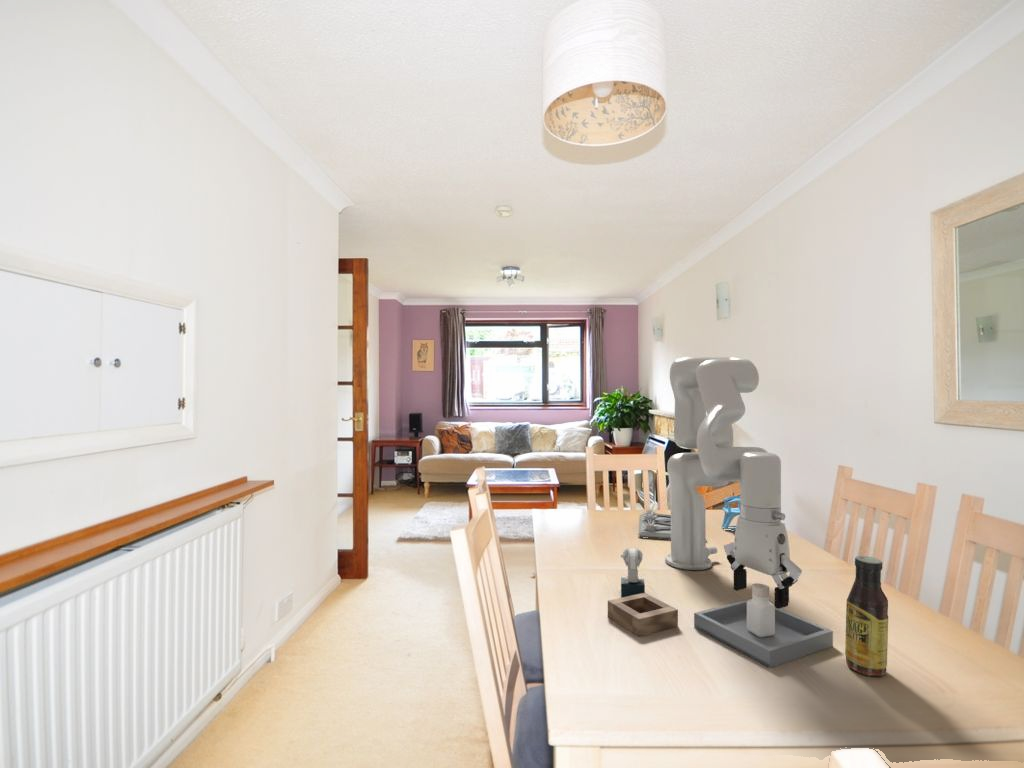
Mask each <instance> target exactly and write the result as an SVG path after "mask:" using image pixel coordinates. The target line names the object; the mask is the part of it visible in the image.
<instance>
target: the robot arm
mask: <svg viewBox="0 0 1024 768" xmlns="http://www.w3.org/2000/svg"><path fill="white" fill-rule="evenodd" d="M669 381H670V385H671V389H672V394H673V397H674V398H673V399H674V416H673V417H674V418H673V419H674V422H673V437H674V443H675V444H676V446H677V447H679V448H680V449H681V448H682V449H687V450H697V452H680V453H675V454H673V455H671V456H670V457H669V459H668V460H667V463H666V470H667V475H668V483H669V491H670V492H669V493H670V494H669V495H670V515H671V540H670V553H668V554H666V555H665V557H664V561H665V563H666V564H667V565H668V566H671V567H674V568H677V569H681V570H682V569H683V570H686V571H687V570H689V571H702V570H706V569H710V568H711V567H712V560H711V559H710V558H709V557H710V555H716V554H718V548H717V547H716V546H711V547H710V546H709V547H708V546H706V545H707V543H706V542H707V541H706V540H707V537H706V529H707V528H706V525H707V524H706V520H707V519H706V501H705V499H704V496H703V495H701V493H700V492H699V491H698V490H697V488H698V487H699V488H700V487H724V486H727V485H728V484H729V483H730V482H739V496H740V515H738V517H737V520H736V524H735V525H736V528H735V529H736V530H735V531H734V541H733V542H730V543H728V544H724V545H723V549H724V552H725V555H726V559H727V562H728V563H729V564H730V569H731V570H732V571H733V591H736V592H738V591H740V590H747V587H748V586H747V581H748V580H747V576H748V575H747V573H748V572H747V569H746V568H749V569H751V570H753V571H757V572H759V573H762V574H765V575H768V576H771V577H772V579H773V581H774V583H775V584H776V587H774V606H775V607H776V608H778V609H782V608H783V609H784V608H787V607H789V603H790V587H792V586H793V585H795V584H796V583H797V582H798V579H799V578H800V576H801V575H802V572H803V571H802V569H801V568H800V567H799V566H798V565H797V564H796V563H795V562H794V561H792V560H791V557H790V545H789V537H788V532H787V528H786V524H785V523H783V522H782V521H784V520H785V519H786V514H785V513H783V512H782V461H781V458H780V457H779V455H778V454H777V453H773V452H768V451H767V450H766V449H765V448H762V447H759V446H758V447H757V446H734V430H733V426H732V425H734V424H735V423H737V422H738V421H739V420H741V419H742V418H743V416H744V415H745V413H746V405H745V403H744V401H743V397H742V396H741V394H742V393H744V394H749V393H753V392H754V391H755V390H756V389H757V387H758V386H759V381H760V376H759V372H758V368H757V367H756V365H755V363H754V362H752V360H750V359H748V358H747V359H746V358H738V357H733V356H732V357H731V356H730V357H729V356H728V357H727V356H719V357H718V356H716V357H715V356H686V357H680V358H677V359H675V360H673V362H672V363H671V365H670V368H669ZM745 567H746V568H745ZM787 573H788V574H787Z"/></svg>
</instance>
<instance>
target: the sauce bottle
mask: <svg viewBox="0 0 1024 768" xmlns="http://www.w3.org/2000/svg"><path fill="white" fill-rule="evenodd" d="M854 566H855V577H854V582H853V584H852V587H851V589H850V592H849V593H848V596H847V598H846V604H845V605H846V610H845V615H846V616H845V640H844V641H845V643H844V645H845V648H844V653H845V661H846V664H847V666H848V668H850V670H853V671H855V672H857V673H859V674H861V675H862V676H870V677H883V676H884V675H885V674H886V673H887V667H888V643H889V642H888V641H889V636H888V635H889V615H888V614H889V613H888V612H889V610H888V609H889V600H888V597H887V596H886V594H885V593H884V590H883V589H882V581H881V579H882V572H881V571H882V570H883V561H882V560H881V559H878V558H877V557H873V556H868V555H856V556H855V557H854Z"/></svg>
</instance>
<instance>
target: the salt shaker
mask: <svg viewBox="0 0 1024 768" xmlns="http://www.w3.org/2000/svg"><path fill="white" fill-rule="evenodd" d="M751 597H752V598H749V599H750V600H748V599H747V600H748V601H747V630H748V631H750V632H751V633H753V634H755V635H756V636H758V637H767V636H773V635H774V634H775V604H774V603H772V601H770V586H768V585H767V584H765V583H760V582H759V583H757V582H756V583H752V584H751Z"/></svg>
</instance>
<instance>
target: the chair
mask: <svg viewBox="0 0 1024 768" xmlns="http://www.w3.org/2000/svg"><path fill="white" fill-rule="evenodd" d="M722 500H723V502H724V507H722V511H723V512H724V517H723V520H722V523H721V528H722V527H724V529H731V530H736V528H728V527H736V524H734V525H733V524H731V522H732V521H733V519H734V518H735V517H737V516H740V495H731V496H728V497H726V498H723V499H722ZM735 503H737V507H734V508H733V507H731V504H735Z"/></svg>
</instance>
